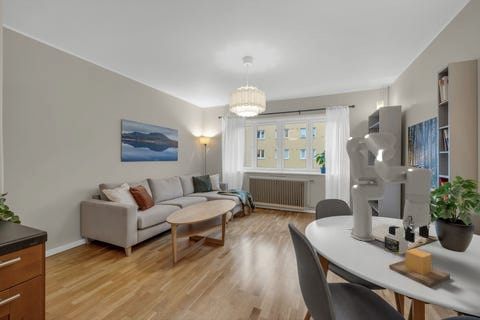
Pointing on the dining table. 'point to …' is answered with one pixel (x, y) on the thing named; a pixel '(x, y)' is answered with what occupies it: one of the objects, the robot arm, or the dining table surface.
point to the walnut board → (427, 279)
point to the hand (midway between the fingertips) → (416, 239)
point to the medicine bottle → (396, 241)
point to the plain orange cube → (419, 261)
